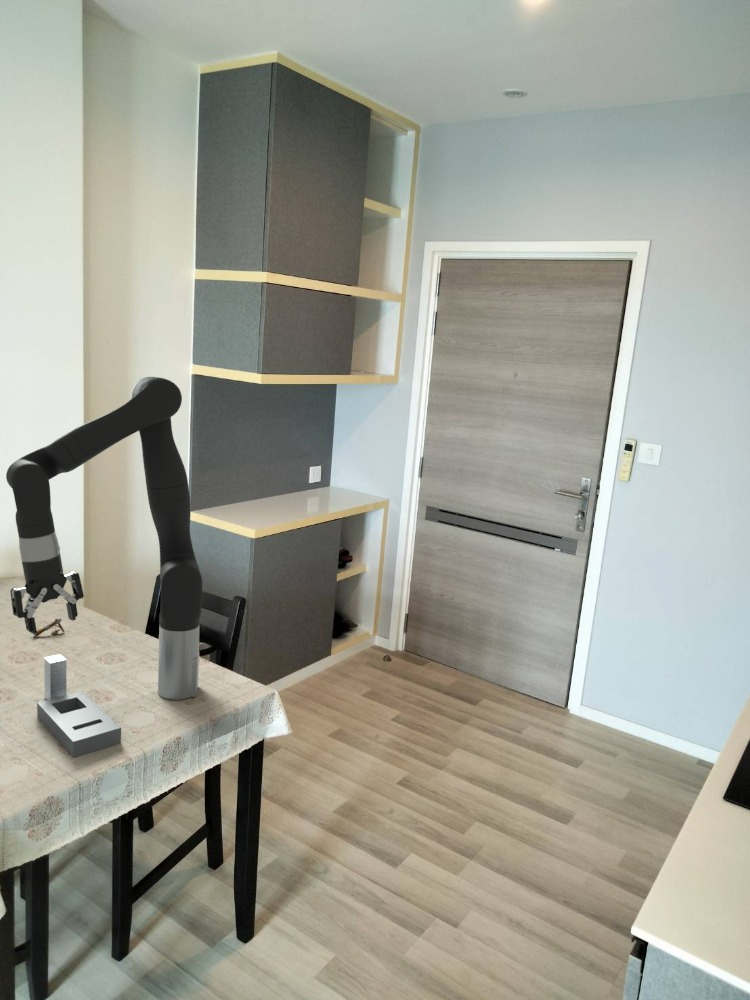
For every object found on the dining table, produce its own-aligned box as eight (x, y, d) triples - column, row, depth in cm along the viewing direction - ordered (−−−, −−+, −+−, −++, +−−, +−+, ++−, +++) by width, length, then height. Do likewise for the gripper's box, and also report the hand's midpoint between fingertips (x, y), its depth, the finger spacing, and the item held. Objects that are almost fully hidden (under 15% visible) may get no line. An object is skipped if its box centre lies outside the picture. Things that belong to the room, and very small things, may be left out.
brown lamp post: (68, 630, 211) (61, 617, 209) (40, 646, 208) (33, 633, 206) (66, 628, 213) (59, 615, 211) (39, 643, 209) (31, 630, 207)
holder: (37, 717, 166) (37, 702, 165) (82, 705, 173) (82, 690, 172) (73, 757, 152) (73, 741, 151) (120, 742, 159) (121, 727, 158)
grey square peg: (44, 698, 175) (44, 657, 173) (60, 694, 177) (60, 654, 175) (50, 704, 172) (50, 663, 170) (66, 700, 174) (66, 659, 172)
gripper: (65, 542, 166) (77, 611, 170) (-2, 560, 156) (12, 632, 160) (81, 548, 161) (92, 619, 165) (13, 567, 151) (26, 642, 155)
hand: (53, 626), depth 163 cm, fingers open, 8 cm apart
